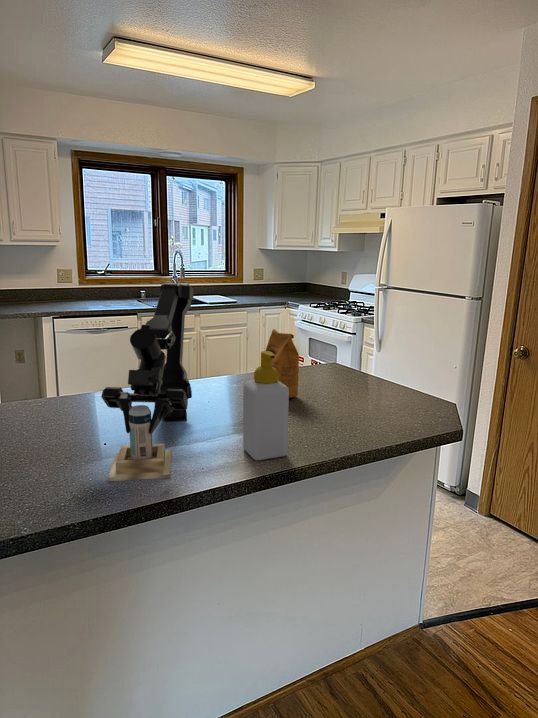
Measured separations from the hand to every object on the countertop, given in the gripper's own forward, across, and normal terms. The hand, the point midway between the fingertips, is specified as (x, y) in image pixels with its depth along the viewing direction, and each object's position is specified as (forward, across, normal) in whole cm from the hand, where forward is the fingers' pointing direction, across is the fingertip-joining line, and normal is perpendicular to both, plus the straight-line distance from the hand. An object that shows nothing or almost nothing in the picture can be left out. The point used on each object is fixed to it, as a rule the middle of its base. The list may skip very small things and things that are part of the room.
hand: (138, 433), depth 111 cm
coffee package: (-35, +30, +48) cm, 66 cm away
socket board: (+5, 0, +7) cm, 9 cm away
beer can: (+4, 0, +6) cm, 7 cm away
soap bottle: (-2, +27, +14) cm, 31 cm away
